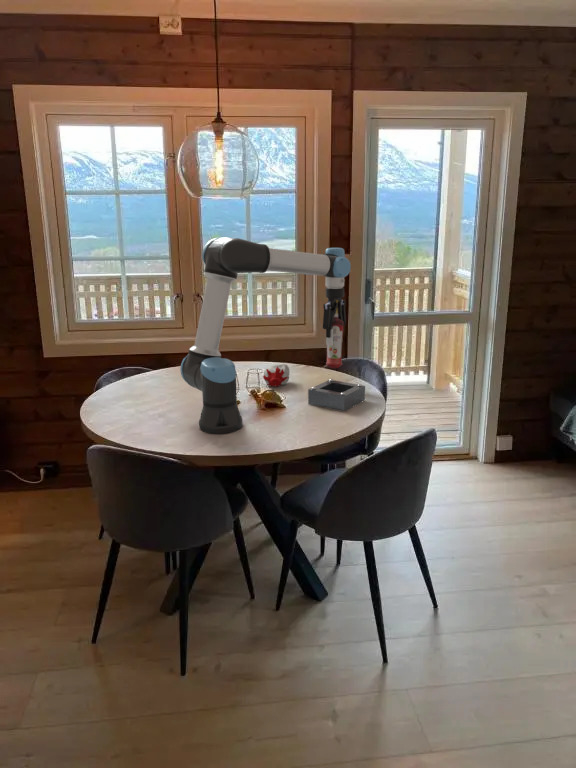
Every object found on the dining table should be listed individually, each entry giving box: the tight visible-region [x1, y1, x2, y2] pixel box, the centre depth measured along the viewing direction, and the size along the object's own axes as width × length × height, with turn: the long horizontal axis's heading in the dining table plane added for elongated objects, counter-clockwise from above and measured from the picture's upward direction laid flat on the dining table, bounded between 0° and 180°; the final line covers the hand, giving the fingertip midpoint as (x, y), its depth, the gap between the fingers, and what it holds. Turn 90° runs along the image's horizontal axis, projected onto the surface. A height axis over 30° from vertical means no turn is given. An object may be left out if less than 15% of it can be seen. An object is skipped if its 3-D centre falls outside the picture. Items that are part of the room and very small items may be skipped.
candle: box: [262, 363, 290, 388], centre depth 249 cm, size 9×11×15 cm
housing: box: [307, 378, 366, 412], centre depth 227 cm, size 16×16×7 cm
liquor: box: [325, 300, 344, 369], centre depth 240 cm, size 7×7×28 cm
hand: (334, 343), depth 242 cm, fingers closed on liquor, 7 cm apart
